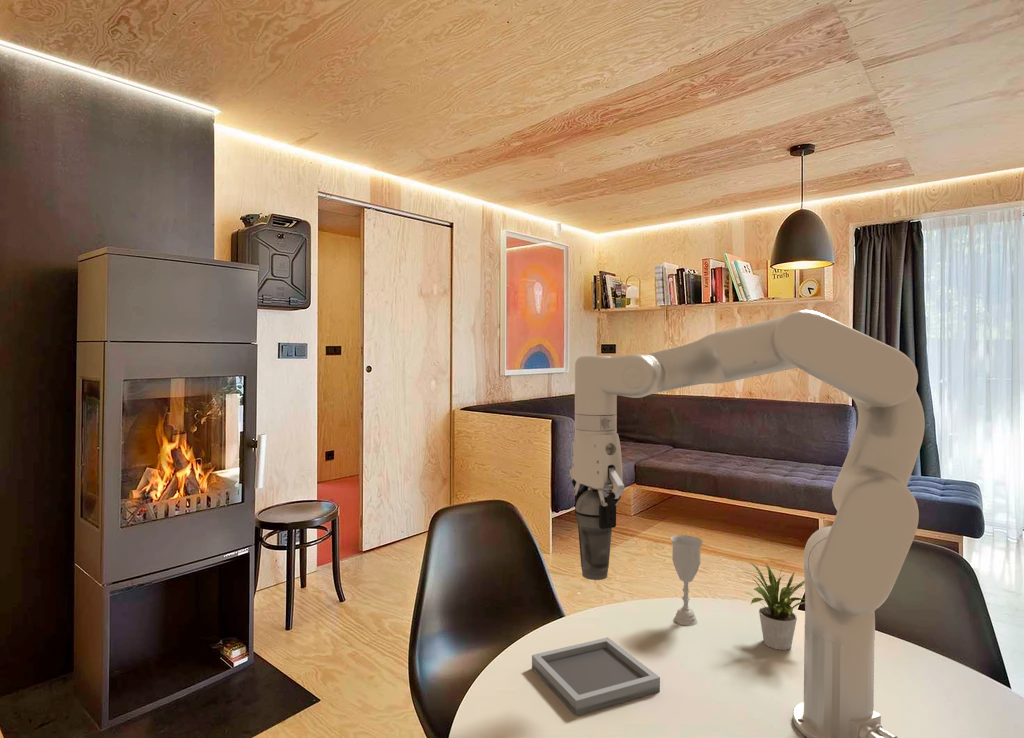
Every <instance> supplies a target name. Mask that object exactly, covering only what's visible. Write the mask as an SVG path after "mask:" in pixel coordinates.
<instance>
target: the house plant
mask: <svg viewBox="0 0 1024 738" xmlns="http://www.w3.org/2000/svg"><path fill="white" fill-rule="evenodd" d="M744 561H746V562H747V563H749V564H751V566H752V567H754V568H755V570H756V571H757V574H758V575H759V577H760V578H758V577H757V575H754V574H752V573H749V572H745V571H743V572H741V573H744V574H748V576H747V575H746V577H747V578H751V579H752V580H753V581H754V582H755V583H756V584H757V586H756V587H754V588H753V591H756V592H757V593H758V594H760V595H761V596H762V598H761V597H754V595H753V594H751V593H749V592H746V594H747V595H748V594H749V595H751V596H752V597H754V598H752V599H751V602H750V605H753V604H755V603H758V602H760V603H761V601H764V602H765V603H766V604H767V606H765V604H762V606H763V607H760V608H759V610H758V614H759V620H760V627H761V632H762V633H761V634H762V639H763V643H764V645H766V646H768V647H769V648H772V649H774V650H778V649H780V650H779V651H786V649H788V650H790V649H791V648H792V645H793V639H794V635H795V629H796V625H797V615H796V614H795V613H794V612H793V610H794V608H796V607H797V606H800V605H803V604H804V605H805V598H801V597H791V596H792V595H793V594H794V593H795V592H796V591H797V590H798V589H800V588H801V587H803V585H805V579H804V580H803V581H801V582H799V583H798V584H797V585H795V586H794V585H793V586H791V585H792V583H793V580H794V576H795V572H793V573H792V575H791V576H790V577H789V579H788V582H787V583H786V587H785V586H784V587H781V589H780V583H781V580H782V578H783V577H784V576H785V574H783V575H782V576H781V573H782V570H783V568H784V567H782V568H781V569H780V572H779V576H778V579H777V580H776V577H775V574H774V572H773V571H772V570H771V568H770V567H769V565H768V564H767V563H765V564H764V565H765V568H766V569H767V575H768V580H769V584H768V583H767V582H766V580H765V578H764V575H763V573H762V571H761V570H760V569H759V568H758V566H757V565H755V564H754V563H752V562H751V561H748V560H744ZM749 575H751V576H753V577H755V578H756V579H757V580H758V581H759V582H760V583H761V585H762V586H763V587H761V586H760V585H759V583H758V582H757V580H755V579H754V578H753V577H751V576H749ZM779 590H780V591H779ZM779 592H780V593H779ZM795 601H800V602H798V603H796V604H794V605H793V606H791V605H792V603H793V602H795ZM781 649H782V650H781Z"/></svg>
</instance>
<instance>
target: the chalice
mask: <svg viewBox="0 0 1024 738" xmlns="http://www.w3.org/2000/svg"><path fill="white" fill-rule="evenodd" d="M670 541H671V543H672V562H673V566H674V568H675V571H676V573H677V576H678V578H679V580H680V581H682V582H683V588H682V592H683V596H682V597H681V599H682V600H683V605H682V607H679V608H678V609H677V611H676V614H675V616H674V617H673V620H674V621H675V622H676V623H677V622H678V623H677V624H679V623H680V625H683V626H694V625H695V626H696V625H697V624H698V622H697V621H698V619H697V616H696V615H695V612H694V610H693V609H692V608H690V606H689V601H691V598H690V597H689V592H690V589H689V584H690V583H691V582H693V581H694V578H695V576H697V573H698V571H699V568H700V566H701V546H702V545H703V543H704V541H703V540H702V539H701V538H698V537H696V536H692V535H687V534H685V535H684V534H683V535H682V534H678V535H672V536H671V537H670Z"/></svg>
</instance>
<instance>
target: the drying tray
mask: <svg viewBox="0 0 1024 738" xmlns="http://www.w3.org/2000/svg"><path fill="white" fill-rule="evenodd" d="M531 669H532V670H533V671H534V672H535V673H536V674H537V676H538V677H539V678H540V679H541V680H542V681H543V682H544V683H545V684H546V685H547V686H548V687H549V689H551V690H552V692H553V693H554V694H555V695H556V696H557V697H558V698H559V699H560V701H562V702H563V703H564V704H565V706H566V707H567V708H568V709H569V710H570V711H571V712H572V713H573V714H574V716H576V717H577V716H581V715H585V714H588V713H591V712H595V711H598V710H602V709H605V708H609V707H611V706H616V705H618V704H622V703H626V702H627V701H628V702H629V701H632V700H635V699H639V698H642V697H646V696H650V695H652V694H655V693H659V692H661V677H660V676H659V675H658V674H657V673H655V672H654V671H653V670H651V669H650V668H649V667H648V666H646V665H645V664H643V663H642V662H640V661H639V660H638V659H637V658H636V657H634V656H633V655H632V654H630V653H629V652H628V651H627V650H625V649H624V648H623V647H621V646H620V645H618V644H617V642H615V641H613V640H612V639H611V638H609V637H604V638H599V639H595V640H591V641H586V642H582V643H578V644H573V645H569V646H565V647H560V648H557V649H551V650H548V651H544V652H539V653H534V654H532V655H531Z"/></svg>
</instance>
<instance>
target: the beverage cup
mask: <svg viewBox="0 0 1024 738" xmlns="http://www.w3.org/2000/svg"><path fill="white" fill-rule="evenodd" d="M605 494H606V497H607V496H608V495H609V493H608V492H605ZM599 505H602V504H601V500H600V496H599V493H598V490H596V489H593V488H590V490H587V491H585V492H584V493H583V494H582V495H581V496H580V497H579V499H578V501H577V503H576V509H574V514H575V513H576V516H575V517H576V518H575V519H576V522H577V523H576V524H577V531H578V541H579V554H580V555H579V557H580V567H581V572H582V573H581V575H582V577H583V578H584V579H587V580H590V581H591V580H592V581H602V580H605V579H607V578H608V573H609V567H610V554H611V545H612V544H611V543H612V533H613V532H612V531H613V528H606V529H601V528H599Z"/></svg>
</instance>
